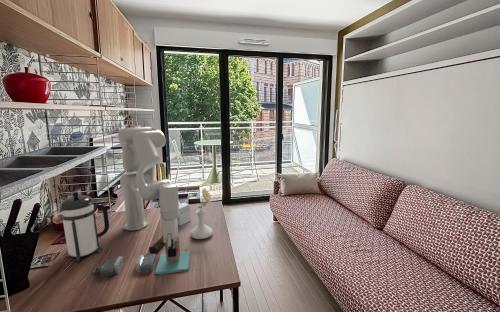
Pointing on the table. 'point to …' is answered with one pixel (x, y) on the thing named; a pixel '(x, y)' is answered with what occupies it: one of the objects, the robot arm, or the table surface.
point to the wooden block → (176, 250)
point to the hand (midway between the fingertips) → (173, 252)
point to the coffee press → (81, 225)
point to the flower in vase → (202, 229)
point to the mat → (173, 264)
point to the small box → (184, 214)
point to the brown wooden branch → (156, 246)
